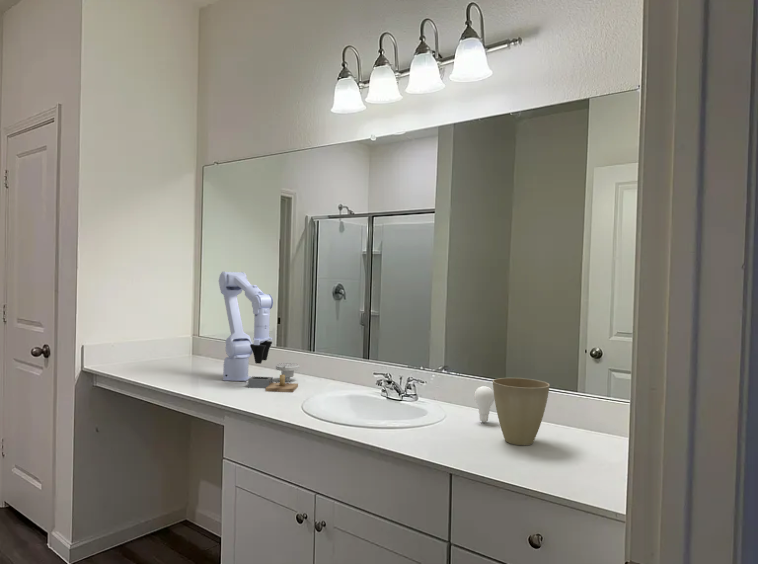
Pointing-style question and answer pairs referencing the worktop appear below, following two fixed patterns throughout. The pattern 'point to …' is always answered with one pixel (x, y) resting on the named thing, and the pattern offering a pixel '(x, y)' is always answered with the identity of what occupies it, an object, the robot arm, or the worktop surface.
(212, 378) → the worktop surface
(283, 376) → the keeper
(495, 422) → the worktop surface
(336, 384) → the worktop surface
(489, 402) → the lightbulb
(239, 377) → the robot arm
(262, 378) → the grey rectangular block
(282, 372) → the showerhead
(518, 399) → the plant pot
